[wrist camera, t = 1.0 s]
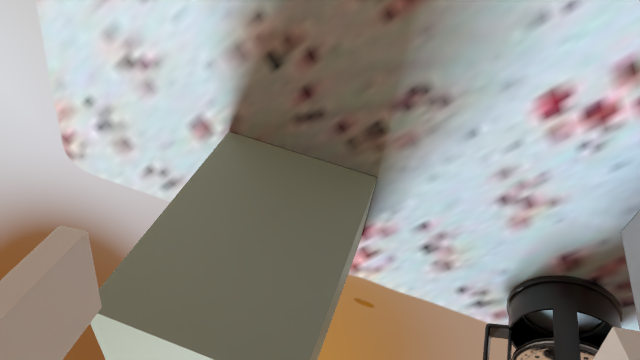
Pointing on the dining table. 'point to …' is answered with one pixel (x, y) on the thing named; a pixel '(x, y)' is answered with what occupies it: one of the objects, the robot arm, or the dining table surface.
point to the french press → (556, 319)
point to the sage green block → (239, 261)
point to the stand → (633, 258)
